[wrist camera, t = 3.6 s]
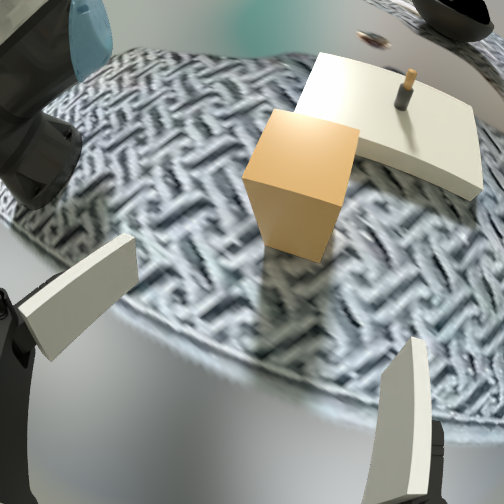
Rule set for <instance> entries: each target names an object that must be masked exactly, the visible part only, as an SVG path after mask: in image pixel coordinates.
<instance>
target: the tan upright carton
mask: <svg viewBox="0 0 504 504" xmlns="http://www.w3.org/2000/svg"><path fill="white" fill-rule="evenodd" d="M359 134H360V130H358V129H355V128H352V127H348V126H345V125H342V124H338V123H334V122H331V121H327V120H323V119H319V118H315V117H311V116H307V115H303V114H298V113H294V112H289V111H284V110H279V109H274V110H273V112H272V115H271V117H270V119H269V121H268V123H267V125H266V127H265V129H264V131H263V133H262V135H261V137H260V139H259V142H258V144H257V146H256V148H255V150H254V152H253V154H252V157H251V159H250V161H249V163H248V165H247V167H246V170H245V172H244V174H243V176H242V180H243V183H244V185H245V188H246V191H247V194H248V197H249V200H250V203H251V206H252V209H253V212H254V215H255V218H256V221H257V224H258V226H259V229H260V232H261V235H262V238H263V241H264V244H265V245H266V246H269V247H272V248H275V249H278V250H281V251H284V252H287V253H290V254H293V255H296V256H299V257H302V258H305V259H308V260H311V261H314V262H317V263H320V261H321V258H322V256H323V253H324V251H325V248H326V246H327V244H328V241H329V239H330V236H331V234H332V231H333V228H334V226H335V223H336V221H337V218H338V215H339V213H340V210H341V207H342V204H343V200H344V197H345V193H346V189H347V185H348V181H349V177H350V173H351V169H352V165H353V161H354V156H355V152H356V147H357V143H358V138H359Z"/></svg>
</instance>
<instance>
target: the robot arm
mask: <svg viewBox="0 0 504 504" xmlns="http://www.w3.org/2000/svg"><path fill="white" fill-rule="evenodd" d="M112 49H113V41H112V33H111V28H110V23H109V19H108V16H107V13H106V10H105V7H104V4H103V2H102V0H0V179H1V180H2V181H3V183H4V184H5V185H6V187H7V188H8V190H9V191H10V192H11V194H12V195H13V196H14V198H15V199H16V200H17V202H18V203H20V204H21V205H23V206H24V207H26V208H28V209H30V210H35V209H39V208H41V207H43V206H44V205H46V204H47V203H48V202H49V201H50V200H52V199H53V198H54V197H55V195H56V194H57V193H58V192H59V191H60V190H61V188H62V187H63V186H64V184H65V183H66V181H67V180H68V178H69V176H70V175H71V173H72V171H73V169H74V167H75V165H76V163H77V161H78V158H79V155H80V152H81V147H82V137H81V134H80V132H79V131H78V130H77V129H76V128H75V127H74V126H73V125H72V124H70V123H68V122H65V121H63V120H60V119H58V118H55V117H53V116H50V115H48V114H45V113H44V112H43V111H42V109H43V108H44V107H46V106H47V105H48V104H49V103H51V102H52V101H53V100H55V99H56V98H57V97H59V96H60V95H62V94H63V93H64V92H66V91H67V90H69V89H70V88H71V87H73V86H74V85H76V84H77V83H79V82H83V81H84V80H85V79H86V77H88V76H89V75H91V74H92V73H94V72H95V71H97V70H98V69H100V68H101V67H103V66H104V65H105V64H106V63H107V62H108V61H109V59H110V57H111V54H112ZM138 282H139V278H138V269H137V259H136V247H135V237H133V236H130V235H128V234H125V233H123V234H121V235H120V236H118V237H116V238H115V239H113V240H112V241H110V242H109V243H107V244H106V245H104V246H102V247H101V248H99V249H98V250H96V251H95V252H93V253H92V254H90V255H89V256H87V257H86V258H84V259H83V260H81V261H80V262H79V263H77V264H76V265H74V266H73V267H71V268H70V269H69V270H67V271H66V272H61V273H59V274H56V275H54V276H52V277H51V278H50V279H48V280H47V281H46V282H45V283H43V284H41V285H40V286H39V288H38V287H37V288H36V289H35V290H34V291H32V292H31V293H29V294H28V295H27V296H26V297H24V298H23V299H22V300H20V301H19V302H18V303H17V304H15V305H12V303H11V301H10V299H9V297H8V294H7V292H6V291H5V290H4V289H3V288H0V503H3V504H38V502H37V500H36V498H35V497H34V496H33V494H32V493H31V491H30V486H29V475H28V460H27V421H28V406H29V395H30V385H31V378H32V371H33V364H34V358H35V345H38V347H39V349H40V350H41V352H42V353H43V354H44V355H45V356H46V357H47V358H48V359H49V360H50V361H51V362H52V361H53V360H54V359H55V358H56V357H57V356H58V355H59V354H60V353H61V352H62V351H63V350H64V349H65V348H66V347H67V346H68V345H69V344H70V343H71V342H73V340H75V339H76V338H77V337H78V336H79V335H80V334H81V333H82V332H83V331H84V330H85V329H86V328H87V327H88V326H90V325H91V324H92V323H93V322H94V321H95V320H96V319H97V318H98V317H100V316H101V315H102V314H103V313H104V312H105V311H106V310H107V309H108V308H110V307H111V306H112V305H113V304H114V303H115V302H116V301H117V300H119V299H120V298H121V297H122V296H123V295H124V294H125V293H127V292H128V291H129V290H130V289H131V288H132V287H133V286H135V285H136V284H137V283H138ZM443 446H444V431H443V428H442V426H441V423H440V421H436V420H432V417H431V391H430V377H429V366H428V357H427V349H426V342H425V341H424V340H421V339H418V338H414V337H410V339H409V340H408V341H407V343H406V344H405V345H404V347H403V348H402V349H401V351H400V352H399V353H398V355H397V356H396V357H395V358H394V360H393V361H392V362H391V363H390V365H389V366H388V367H387V368H386V369H385V371H384V372H383V373H382V374H381V386H380V399H379V409H378V418H377V426H376V433H375V440H374V447H373V453H372V458H371V464H370V469H369V474H368V478H367V483H366V487H365V492H364V496H363V500H362V503H361V504H447V502H446V501H445V500H444V499H443V498H442V496H441V488H442V487H441V486H442V477H443V461H444V460H443V459H444V458H443V455H444V448H443Z"/></svg>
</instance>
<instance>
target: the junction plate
mask: <svg viewBox="0 0 504 504" xmlns="http://www.w3.org/2000/svg"><path fill="white" fill-rule="evenodd" d="M416 75H417V72H416V71H415V70H413V69H408V71H407V74H406V76H403V75H400V74H398V73H395V72H392V71H389V70H386V69H383V68H380V67H377V66H373V65H370V64H366V63H363V62H359V61H355V60H351V59H348V58H343V57H339V56H335V55H330V54H325V53H320V54H319V56H318V58H317V60H316V63H315V65H314V67H313V70H312V72H311V74H310V76H309V79H308V81H307V83H306V86H305V88H304V90H303V93H302V95H301V97H300V100H299V102H298V104H297V106H296V109H295V111H294V113H298V114H303V115H307V116H311V117H315V118H319V119H323V120H327V121H331V122H334V123H338V124H342V125H345V126H348V127H352V128H355V129H358V130H360V134H359V138H358V143H357V147H356V152H355V154H356V155H359V156H362V157H365V158H368V159H371V160H374V161H376V162H379V163H382V164H385V165H388V166H390V167H393V168H396V169H398V170H401V171H403V172H406V173H408V174H411V175H413V176H416V177H418V178H421V179H423V180H425V181H428V182H430V183H432V184H435V185H437V186H439V187H441V188H443V189H446V190H448V191H450V192H452V193H454V194H456V195H458V196H460V197H462V198H464V199H466V200H468V201H472V200H473V199H474V198H475V197H476V196H477V195H478V194H479V193H481V192H482V191H483V177H482V166H481V157H480V149H479V142H478V136H477V130H476V124H475V119H474V114H473V110H472V107H471V106H469V105H467V104H465V103H464V102H462V101H460V100H458V99H456V98H454V97H452V96H450V95H448V94H446V93H443V92H441V91H439V90H437V89H435V88H432V87H430V86H428V85H426V84H423V83H421V82H419V81H416V80H415V78H416Z"/></svg>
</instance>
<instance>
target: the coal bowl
mask: <svg viewBox="0 0 504 504" xmlns="http://www.w3.org/2000/svg"><path fill="white" fill-rule="evenodd" d="M412 2H413V4H414V6H415V8H416V10H417V11H418V13H419V14H420V15H421V17H422V18H423V19H424V20H425V21H426V22H427V23H428V24H429V25H430V26H431V27H433V28H434V29H435V30H437V31H438V32H440V33H441V34H443V35H445V36H447V37H449V38H452V39H454V40H458V41H463V42H476V41H480V40H482V39H484V38H486V37H487V36H489V35H490V34H491V33H492V31H493V29H494V25H493V23H492V22H491V21H490V17H489V13H488V10H487V6H486V4H485V2H484V1H483V0H412Z"/></svg>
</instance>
